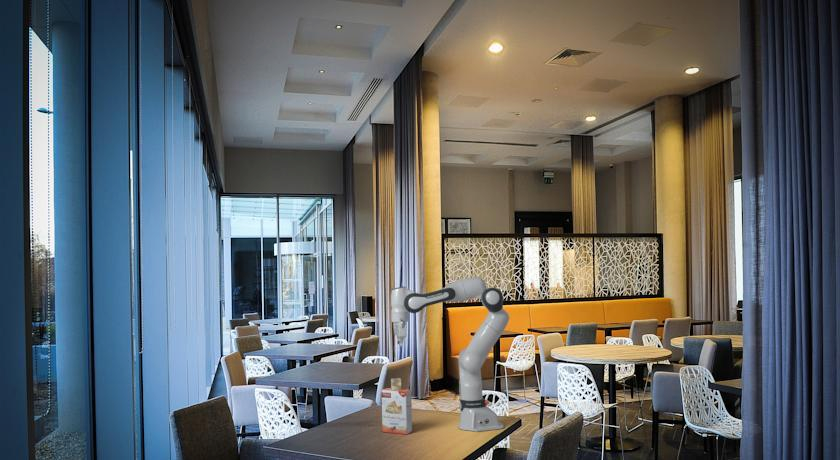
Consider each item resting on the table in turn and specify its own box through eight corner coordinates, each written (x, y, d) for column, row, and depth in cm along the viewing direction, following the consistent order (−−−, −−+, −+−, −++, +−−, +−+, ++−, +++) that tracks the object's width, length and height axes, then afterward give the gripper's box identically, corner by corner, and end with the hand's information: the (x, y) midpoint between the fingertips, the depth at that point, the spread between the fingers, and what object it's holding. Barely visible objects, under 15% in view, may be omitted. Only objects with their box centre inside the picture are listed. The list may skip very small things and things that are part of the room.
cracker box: (381, 432, 309) (380, 389, 311) (388, 429, 315) (387, 387, 316) (406, 435, 303) (405, 391, 305) (412, 432, 308) (411, 389, 310)
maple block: (400, 388, 313) (400, 378, 313) (401, 389, 309) (401, 379, 309) (391, 388, 312) (391, 378, 313) (392, 390, 308) (391, 379, 308)
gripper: (408, 319, 316) (409, 347, 315) (403, 316, 336) (403, 343, 335) (395, 319, 315) (396, 347, 314) (391, 317, 335) (392, 343, 334)
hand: (400, 345), depth 324 cm, fingers open, 8 cm apart
